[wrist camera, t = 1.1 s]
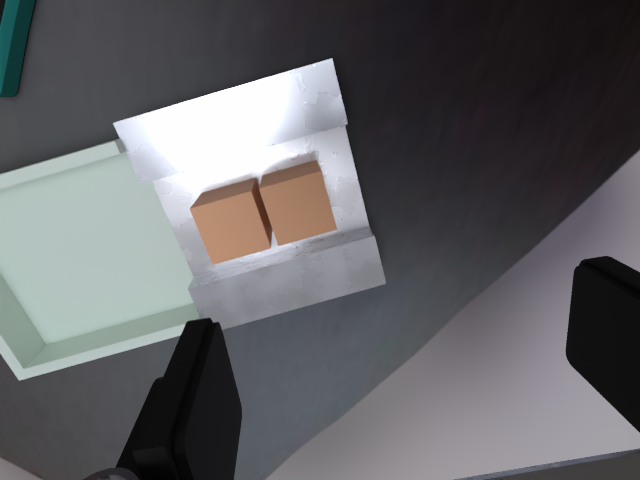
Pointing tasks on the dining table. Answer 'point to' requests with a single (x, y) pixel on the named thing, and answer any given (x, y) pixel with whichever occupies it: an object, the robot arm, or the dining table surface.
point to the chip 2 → (297, 202)
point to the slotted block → (254, 161)
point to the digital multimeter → (13, 42)
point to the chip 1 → (232, 221)
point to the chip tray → (86, 262)
